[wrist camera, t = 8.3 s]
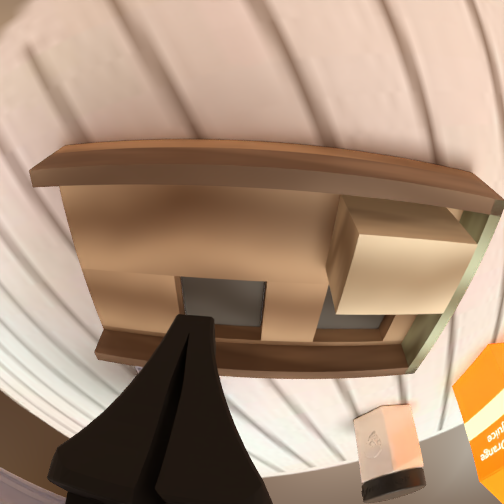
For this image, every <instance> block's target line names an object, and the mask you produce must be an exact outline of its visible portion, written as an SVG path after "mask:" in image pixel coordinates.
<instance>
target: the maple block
mask: <svg viewBox="0 0 504 504" xmlns="http://www.w3.org/2000/svg"><path fill="white" fill-rule="evenodd" d="M477 245H478V244H477V243H476V242H475V240H474V239H473V238H472V237H471V236H470V234H469V233H468V232H467V231H466V230H465V228H464V227H463V226H462V225H461V224H460V222H459V221H458V220H457V219H456V218H455V217H454V216H453V214H452V213H451V212H450V211H449V210H448V209H447V208H446V207H440V206H433V205H426V204H419V203H411V202H404V201H396V200H388V199H379V198H371V197H361V196H352V195H342V194H341V195H340V200H339V205H338V210H337V215H336V220H335V225H334V230H333V234H332V239H331V244H330V248H329V253H328V257H327V261H326V266H325V269H326V273H327V277H328V281H329V286H330V290H331V294H332V299H333V303H334V308H335V313H336V314H342V315H400V314H441V313H444V311H445V309H446V307H447V306H448V304H449V302H450V300H451V298H452V297H453V295H454V293H455V291H456V289H457V287H458V285H459V283H460V281H461V279H462V277H463V275H464V273H465V271H466V269H467V267H468V265H469V263H470V261H471V259H472V256H473V254H474V252H475V250H476V248H477Z"/></svg>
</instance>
